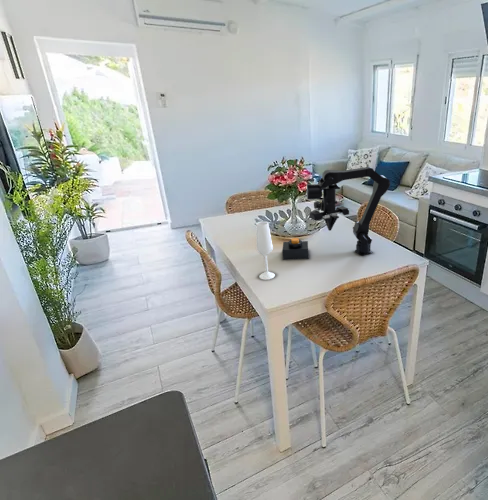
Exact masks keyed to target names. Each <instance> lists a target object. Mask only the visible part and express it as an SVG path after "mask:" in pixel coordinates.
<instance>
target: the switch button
mask: <svg viewBox="0 0 488 500" xmlns="http://www.w3.org/2000/svg"><path fill="white" fill-rule="evenodd" d="M290 240H291V241H292V243H293V244H297V243H299V240H300V238H298V237H293V238H291V239H290Z"/></svg>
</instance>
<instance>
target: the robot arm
mask: <svg viewBox="0 0 488 500" xmlns="http://www.w3.org/2000/svg"><path fill="white" fill-rule="evenodd" d="M367 177H368V178H370V179H371V180H372V181H373V185H372V193H371V195H370V198H369V200H368V202H367V205H366V206H365V209H364V212H363V214H362V216H361V218H360V220H359V221H356V220H355V222H354V225H353V226H352V233H353V235H354V237H355V238H356V239H357V241H356V244H355V250H354V253H357V254H358V255H360V256H361V257H363V256H367V255H370V254H373V251H371V246H372V245H371V244H372V242H373V239H372V238H371V237H370V235H369V233H370V223H371V221H372V219H373V216H374V214H375V212H376V209H377V208H378V205H379V203H380V201H381V198H382V197H383V196H384V195H385V194H386V193H387V191H388V190H389V189H390V187H391V181H390V179H388V177H386V176H384V175H382V174H379V173H378V172H377V171H376V170H374V168H372V167H371V166H365V167H358V168H351V169H344V170H338V169H337V170H336V169H326V170H324V171H323V172H322V176H321V178H320V180H319V181H318V182H317V183H316V184H315V183H314V184H313V183H307V184H306V191H305V192H306V200H321V202H319V201H314V202H313V208H314V211H310V212H309V214H308V218H309V219H311V220H313V221H315V222H316V221H321V220H323V221H324V222H325V226H326V228H327V230H328V231H329V232H330V231H332V229H333V227H334V225H335V223H336V221H338V219H339V218H340V216H339V215H338V214H342V215H343V216H348V215H350V209H349V208H348V207H346V206H344V205H342V206H341V205H340V206H337V205H336V204H338V200H337V198H336V197H337V195H336V194H337V193H336V192H337V190H340V189H341V187H340V186H339V185H338V184H339V183H340V182H341V183H342V182H343V181H347V180H354V179H360V178H367ZM321 198H322V199H321ZM320 211H321V212H320Z"/></svg>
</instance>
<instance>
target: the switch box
mask: <svg viewBox="0 0 488 500" xmlns="http://www.w3.org/2000/svg"><path fill="white" fill-rule="evenodd" d="M281 251H282V260H283V261H289V260H290V261H291V260H309V258H310V257H309V241H308V240H302V239H299V243H297V244H293V243H292V241H291V239H290V240H288V241H283V243H282V250H281Z"/></svg>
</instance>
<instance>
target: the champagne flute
mask: <svg viewBox="0 0 488 500" xmlns="http://www.w3.org/2000/svg"><path fill="white" fill-rule="evenodd" d="M255 224H256V225H255V226H256V228H255V229H256V230H255V231H256V232H255V237H256V239H255V241H256V242H255V243H256V245H255V246H256V247H255V248H256V251H257V253H259V255H261V256H263V259H264V260H263V262H264V272H262V273H261V274H259V279H260V280H272V279H274V278H275V277H276V274H275V273H274V272H271V271H269V266H268V256H269V255H270V254H271V253H272V251H273V249H274V246H273V242H272V236H271V235H272V234H271V230H270V224H269V222H268V221H266V220H265V221H264V220H263V221H258V222H256V223H255Z"/></svg>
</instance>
